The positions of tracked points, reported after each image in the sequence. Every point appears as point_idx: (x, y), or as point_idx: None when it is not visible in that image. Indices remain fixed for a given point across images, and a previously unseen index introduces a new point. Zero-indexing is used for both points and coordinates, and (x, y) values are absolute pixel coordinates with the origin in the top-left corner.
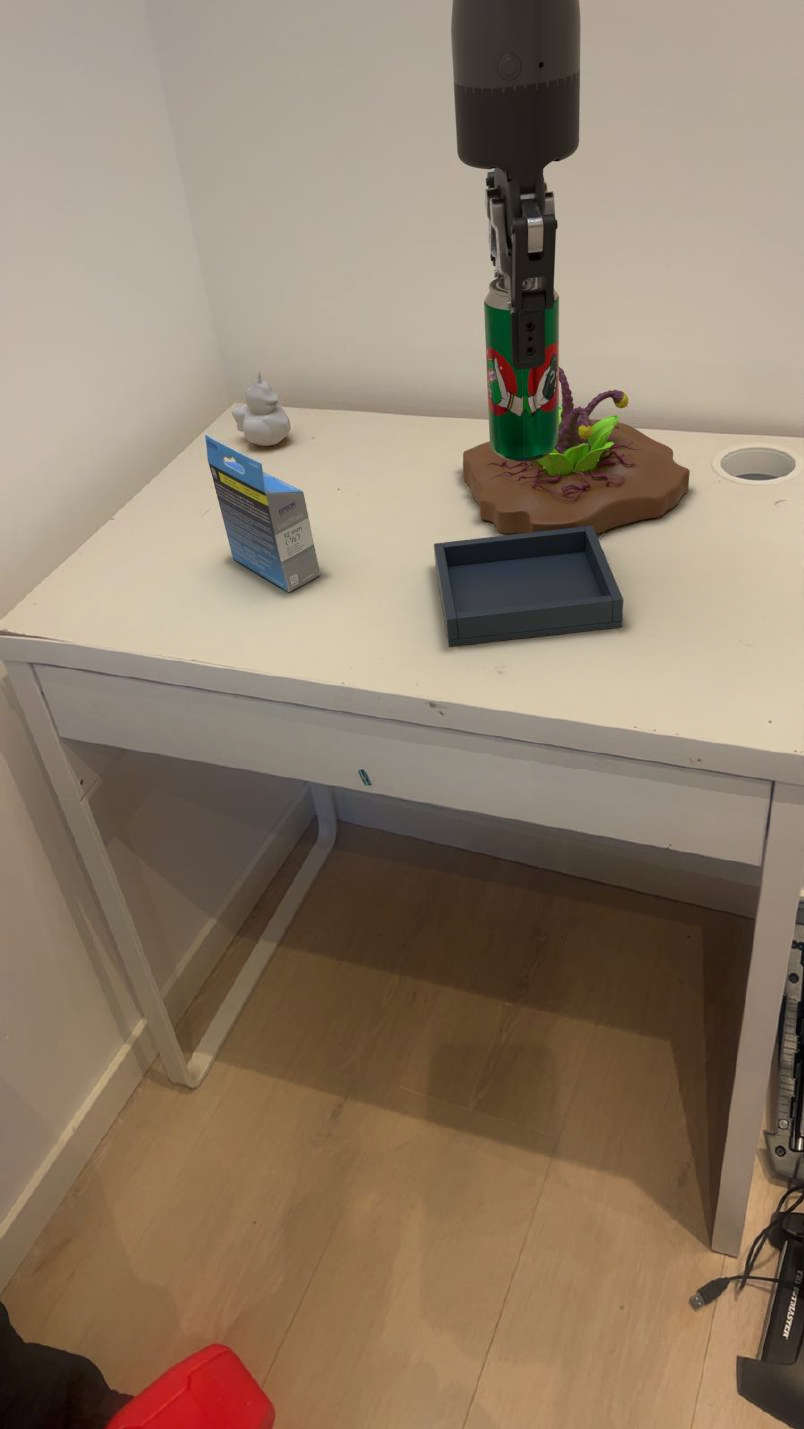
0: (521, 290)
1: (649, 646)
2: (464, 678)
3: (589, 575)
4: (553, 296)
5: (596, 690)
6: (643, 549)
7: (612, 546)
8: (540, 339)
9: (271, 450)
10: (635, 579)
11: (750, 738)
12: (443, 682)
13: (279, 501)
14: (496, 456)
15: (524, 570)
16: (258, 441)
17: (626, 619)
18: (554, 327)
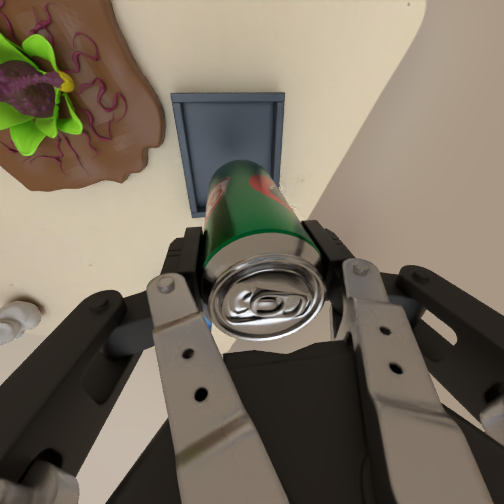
0: (438, 335)
1: (304, 76)
2: (301, 199)
3: (218, 106)
4: (430, 277)
5: (334, 127)
6: (170, 38)
7: (165, 70)
8: (343, 245)
9: (39, 303)
10: (219, 62)
11: (414, 29)
12: (301, 209)
13: (207, 313)
14: (40, 164)
15: (207, 155)
16: (40, 314)
17: (270, 86)
18: (295, 219)
